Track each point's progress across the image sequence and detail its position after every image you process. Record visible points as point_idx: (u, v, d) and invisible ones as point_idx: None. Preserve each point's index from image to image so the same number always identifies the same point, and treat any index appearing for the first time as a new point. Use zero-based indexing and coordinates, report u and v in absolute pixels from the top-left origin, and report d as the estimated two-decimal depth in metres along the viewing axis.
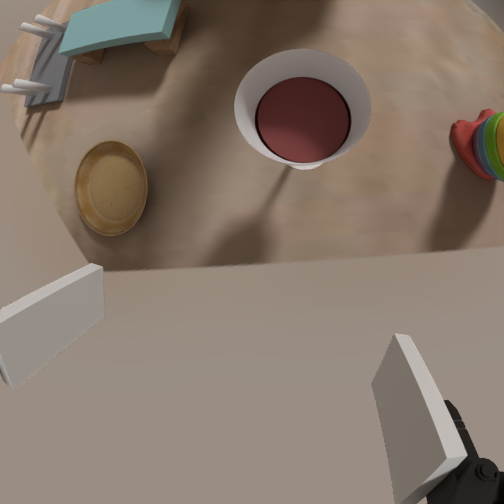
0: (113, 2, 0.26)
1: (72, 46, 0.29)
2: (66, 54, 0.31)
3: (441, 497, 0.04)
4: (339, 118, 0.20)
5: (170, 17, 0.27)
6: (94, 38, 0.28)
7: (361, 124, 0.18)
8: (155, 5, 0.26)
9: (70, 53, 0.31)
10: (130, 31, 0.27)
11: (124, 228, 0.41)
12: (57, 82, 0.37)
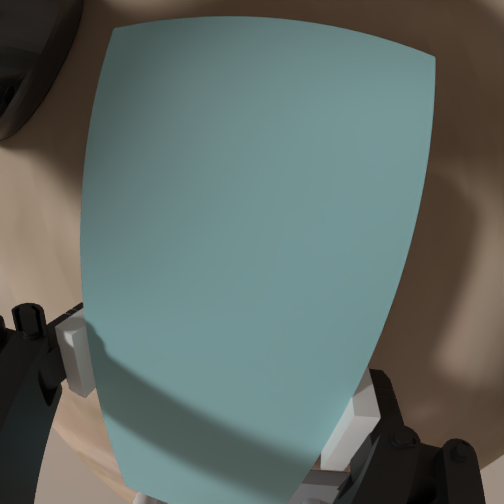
0: (104, 376, 0.08)
1: None
2: None
3: (359, 466, 0.06)
4: None
5: None
6: (290, 456, 0.08)
7: None
8: (200, 102, 0.06)
9: None
10: (369, 267, 0.06)
11: None
12: (305, 491, 0.17)
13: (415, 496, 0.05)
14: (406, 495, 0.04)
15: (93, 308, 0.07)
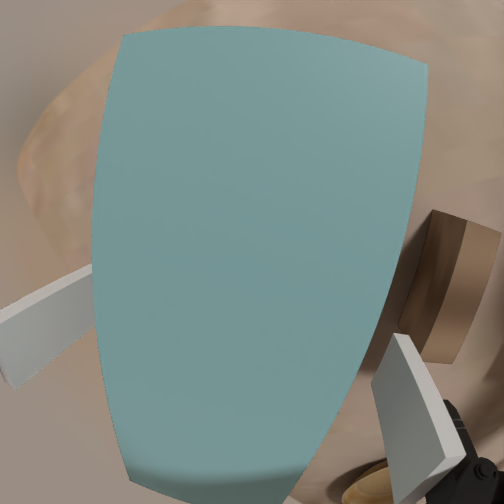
0: (112, 369, 0.09)
1: (272, 499, 0.09)
2: None
3: (440, 496, 0.04)
4: None
5: None
6: (291, 446, 0.08)
7: None
8: (208, 108, 0.06)
9: None
10: (365, 262, 0.06)
11: None
12: None
13: None
14: None
15: (103, 302, 0.08)
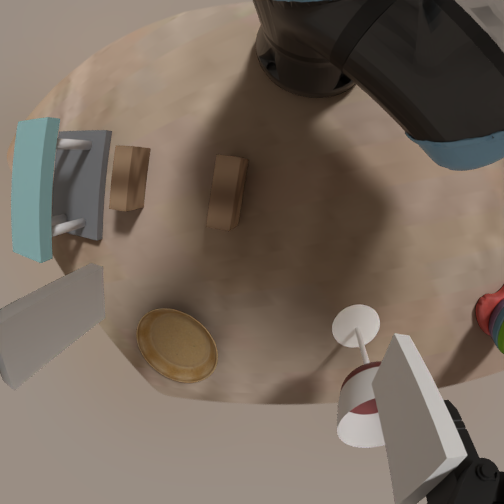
0: (13, 191, 0.31)
1: (37, 239, 0.32)
2: (47, 255, 0.34)
3: (441, 497, 0.04)
4: None
5: None
6: (35, 205, 0.31)
7: None
8: (26, 135, 0.29)
9: (47, 248, 0.34)
10: (39, 155, 0.29)
11: (193, 377, 0.47)
12: (91, 218, 0.42)
13: None
14: None
15: (13, 174, 0.30)
